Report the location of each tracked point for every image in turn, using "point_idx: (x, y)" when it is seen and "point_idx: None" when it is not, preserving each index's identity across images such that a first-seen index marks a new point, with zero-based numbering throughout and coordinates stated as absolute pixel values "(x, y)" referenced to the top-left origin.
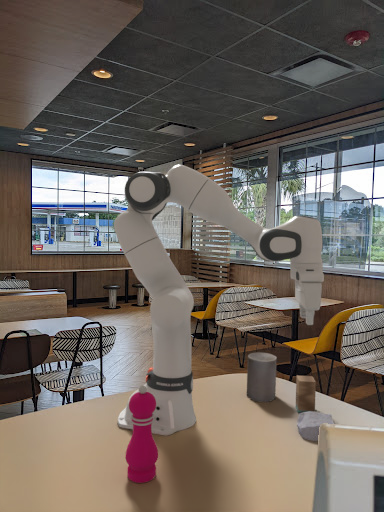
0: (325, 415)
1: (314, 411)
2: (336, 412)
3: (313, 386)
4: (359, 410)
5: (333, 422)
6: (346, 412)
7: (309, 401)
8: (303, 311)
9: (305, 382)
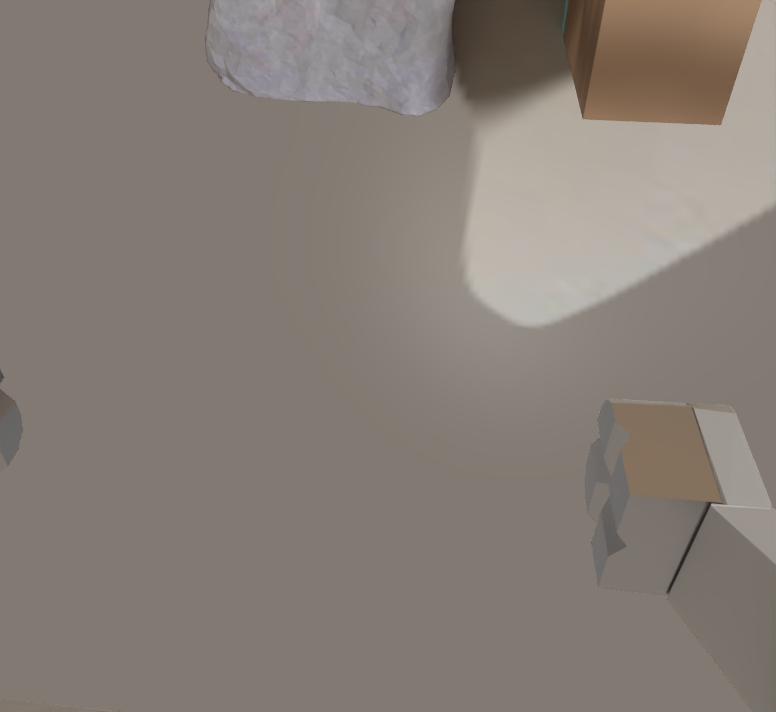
0: (397, 78)
1: (562, 32)
2: (586, 166)
3: (581, 87)
4: (607, 283)
5: (298, 99)
6: (585, 217)
7: (575, 18)
8: (694, 558)
9: (598, 31)
